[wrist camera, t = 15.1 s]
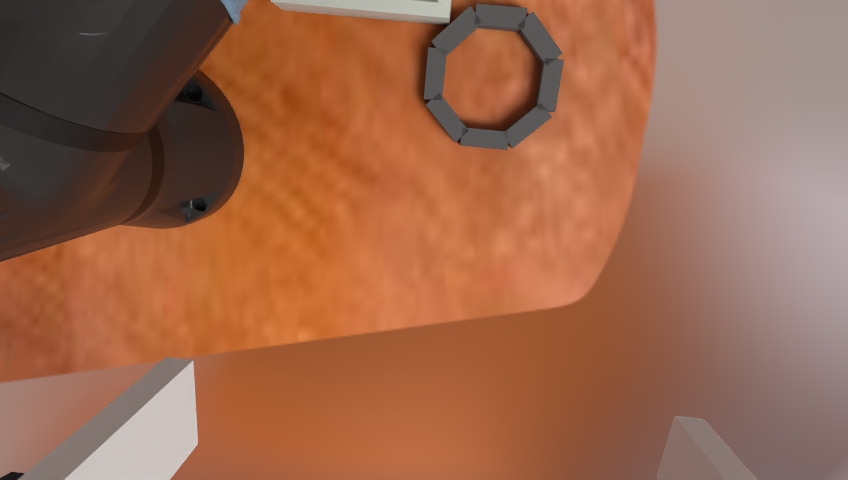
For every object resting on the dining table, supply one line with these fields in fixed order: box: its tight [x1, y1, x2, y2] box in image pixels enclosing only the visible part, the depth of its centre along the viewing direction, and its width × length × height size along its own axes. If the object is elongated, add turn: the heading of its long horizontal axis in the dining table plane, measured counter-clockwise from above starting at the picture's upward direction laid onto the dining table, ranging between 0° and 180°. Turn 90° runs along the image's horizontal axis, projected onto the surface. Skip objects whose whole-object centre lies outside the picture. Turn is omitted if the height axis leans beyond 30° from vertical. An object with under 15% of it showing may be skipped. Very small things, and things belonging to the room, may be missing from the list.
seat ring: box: [424, 4, 564, 150], centre depth 35 cm, size 11×11×1 cm
